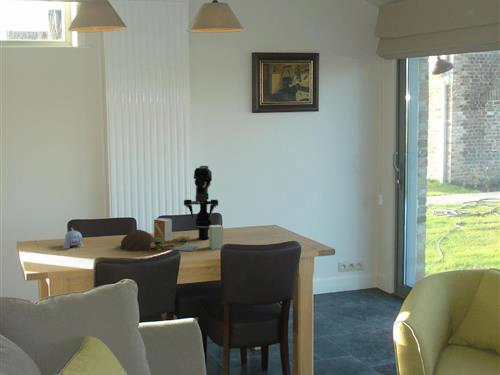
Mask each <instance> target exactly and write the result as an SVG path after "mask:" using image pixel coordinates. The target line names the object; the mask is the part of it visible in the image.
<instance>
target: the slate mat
mask: <svg viewBox="0 0 500 375" xmlns="http://www.w3.org/2000/svg"><path fill="white" fill-rule="evenodd" d="M198 247H199V246H198V245H187V244H186V245H183V246H179V247H175V246H173V247H172V248H170V250H178V251H177V252H189V253H190V252H194V251H195V250H196V249H197V248H198ZM170 250H169V251H170Z"/></svg>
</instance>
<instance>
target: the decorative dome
mask: <svg viewBox="0 0 500 375" xmlns="http://www.w3.org/2000/svg"><path fill="white" fill-rule="evenodd" d="M152 242H155V239H154V235H153V236H152V235H151V233H150V232H147V231H146V230H143V229H135V230H132V231H130V232H128V233H127V234H126V235H125V236H124V237H123V238H122V240H121V242H120V250H124V251H127V252H128V251H129V252H132V251H133V252H142V251H144V252H145V251H150V250H152V249H151V246H150V244H151V243H152Z"/></svg>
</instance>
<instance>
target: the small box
mask: <svg viewBox="0 0 500 375" xmlns="http://www.w3.org/2000/svg"><path fill="white" fill-rule="evenodd" d="M153 220H154V221H153V238H164V239H165V240H166V241H167V240H172V239H173V238H172V236H173V234H172V231H173V230H172V229H173V228H172V227H173V226H172V224H173V223H172V222H173V220H172V219H171V218H162V217H159V218H156V219H153ZM172 241H173V240H172Z"/></svg>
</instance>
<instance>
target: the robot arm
mask: <svg viewBox="0 0 500 375" xmlns="http://www.w3.org/2000/svg"><path fill="white" fill-rule="evenodd" d="M193 173H194V174H193V179H194V185H195V200H192V199H184V200H183V205H184V206H185V207H186V208H188V209H189V212H190V216H191V219H194V211H193V205H199V212H198V213H197V214H196V218H195V229H196V230H198V237H197V238H196V240H203V241H205V240H206V241H209V225H213V223H212V222H213V221H212V220H211V216H212V213H213V211H214V209H215V208H216V207H218V206H219V200H218V199H210V200H209V191H208V189H209V188H210V186H211V182H212V180H213V176H212V175H213V174H212V171H211V170H210V169H209V166H208V165H199V167H195V169H194V172H193ZM208 205H209V212H208Z"/></svg>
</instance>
